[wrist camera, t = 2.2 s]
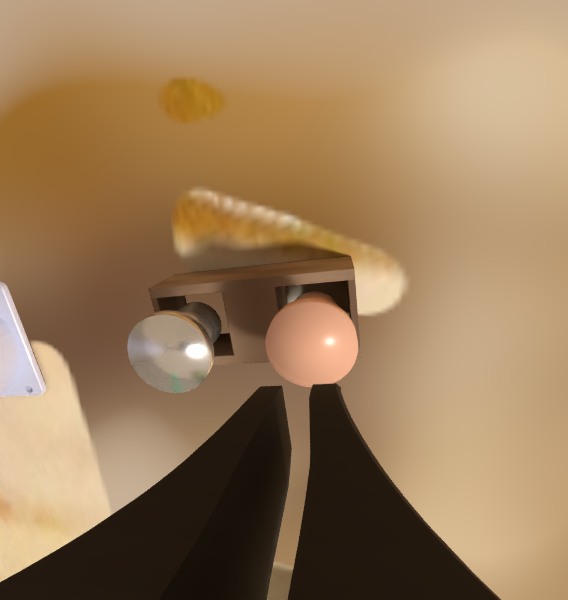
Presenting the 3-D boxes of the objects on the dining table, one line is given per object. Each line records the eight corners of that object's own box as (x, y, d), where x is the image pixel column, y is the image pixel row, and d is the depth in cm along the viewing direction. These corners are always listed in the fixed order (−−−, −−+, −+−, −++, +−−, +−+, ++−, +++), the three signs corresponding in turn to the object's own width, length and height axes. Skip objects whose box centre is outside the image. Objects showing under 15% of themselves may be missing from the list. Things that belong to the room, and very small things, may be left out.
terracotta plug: (283, 350, 17) (272, 388, 14) (273, 282, 16) (258, 306, 13) (355, 346, 17) (361, 385, 13) (349, 275, 16) (354, 298, 12)
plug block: (191, 343, 21) (169, 367, 18) (174, 274, 20) (148, 288, 17) (356, 332, 19) (360, 357, 16) (350, 255, 18) (354, 268, 15)
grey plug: (174, 357, 18) (139, 394, 15) (158, 293, 17) (117, 318, 14) (238, 353, 18) (217, 391, 14) (225, 287, 17) (199, 311, 13)
